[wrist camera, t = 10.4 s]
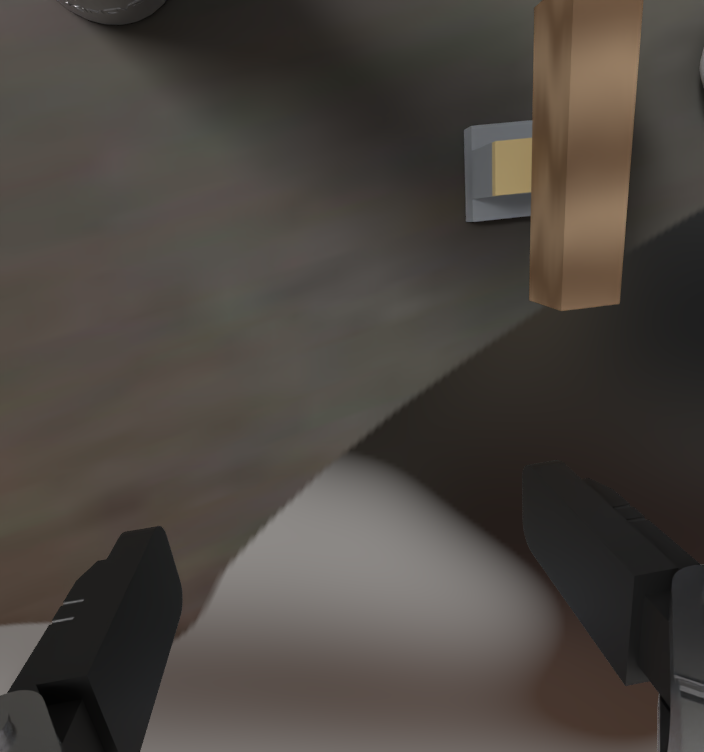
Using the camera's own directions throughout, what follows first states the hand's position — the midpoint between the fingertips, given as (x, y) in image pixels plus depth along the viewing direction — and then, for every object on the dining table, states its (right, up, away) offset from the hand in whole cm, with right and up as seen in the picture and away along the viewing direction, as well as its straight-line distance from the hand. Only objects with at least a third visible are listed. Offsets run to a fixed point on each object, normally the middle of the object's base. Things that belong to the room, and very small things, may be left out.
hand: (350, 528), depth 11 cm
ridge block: (+12, +18, +23) cm, 32 cm away
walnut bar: (+13, +16, +18) cm, 27 cm away
